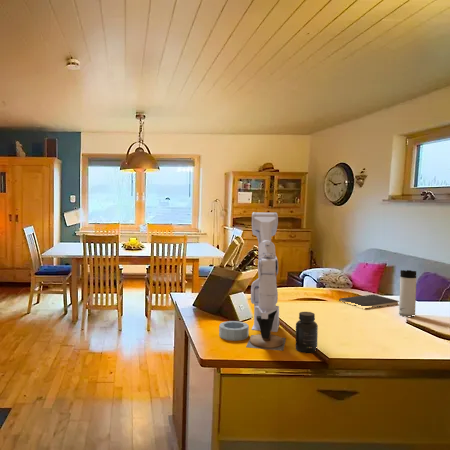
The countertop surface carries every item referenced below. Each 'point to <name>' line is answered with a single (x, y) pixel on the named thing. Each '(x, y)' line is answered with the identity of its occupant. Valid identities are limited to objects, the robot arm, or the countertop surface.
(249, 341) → the mat
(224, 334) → the bowl
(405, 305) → the travel mug
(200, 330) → the countertop surface
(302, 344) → the supplement bottle
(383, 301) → the hardcover book
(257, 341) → the lid
